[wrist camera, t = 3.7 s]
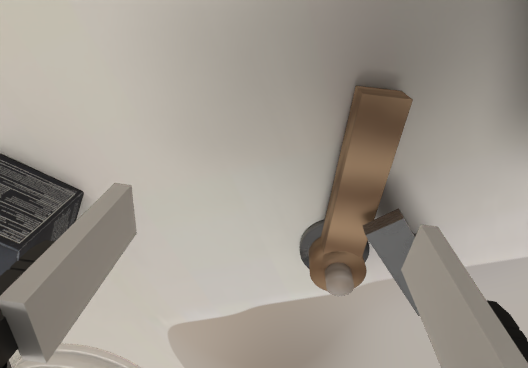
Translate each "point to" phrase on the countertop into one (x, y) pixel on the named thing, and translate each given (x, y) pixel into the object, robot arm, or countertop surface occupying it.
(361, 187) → the latch bar
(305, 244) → the base
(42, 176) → the small box
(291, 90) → the countertop surface
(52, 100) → the countertop surface
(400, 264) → the keeper
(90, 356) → the plate stack
